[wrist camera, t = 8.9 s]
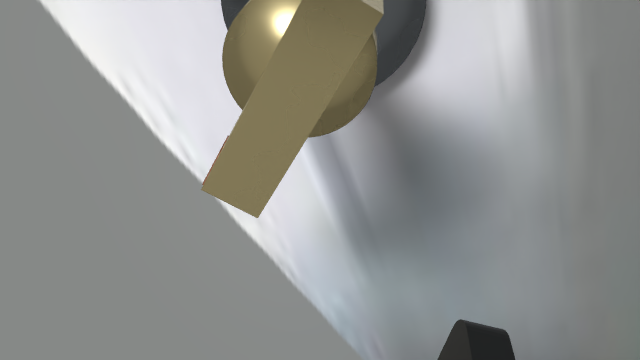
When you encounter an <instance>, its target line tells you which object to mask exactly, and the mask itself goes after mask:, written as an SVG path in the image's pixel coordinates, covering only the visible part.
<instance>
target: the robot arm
mask: <svg viewBox="0 0 640 360" xmlns="http://www.w3.org/2000/svg"><path fill="white" fill-rule="evenodd" d="M438 360H515V357H514V353H513V349H512V345H511V341H510V338H509V335H508V333H507V332H506V331H505V330H503V329H499V328H495V327H491V326H486V325H482V324H478V323H474V322H469V321H465V320H458V321H457V322H456V323H455V325H454V326H453V328H452V330H451V332H450V334H449V337H448V339H447V341H446V343H445V345H444V347H443V349H442V351H441V353H440V355H439V358H438Z"/></svg>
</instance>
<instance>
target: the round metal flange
mask: <svg viewBox="0 0 640 360" xmlns="http://www.w3.org/2000/svg"><path fill="white" fill-rule="evenodd" d="M249 1H250V0H221V6H222V11H223V17H224V21H225V24H226V27H227V30H229V27H230V26H231V24H232V22H233V20H234V19H235V18H236V16H237V15H238V14H239V12H240V11H241V10H242V9H243V8H244V6H245V5H246V4H247V3H248V2H249ZM425 8H426V0H383V9H384V15H383V16H382V18H381V19H380V21H379V23H378V24H377V26H376V27H375V30H376V36H377V74H376V80H375V84H374V87H375V86H376V85H378V84H380V83H381V82H383V81H384V80H385V79H387V78H388V77H389V76H390V75H392V74H393V73H394V72H395V71H396V70H397V69H398V68H399V66H400V65H401V64H402V63H403V62H404V60H405V59H406V58H407V56H408V55H409V54H410V52H411V50H412V48H413V46H414V45H415V43H416V41H417V38H418V36H419V33H420V31H421V28H422V24H423V20H424V16H425Z"/></svg>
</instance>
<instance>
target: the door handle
mask: <svg viewBox="0 0 640 360" xmlns="http://www.w3.org/2000/svg"><path fill="white" fill-rule="evenodd" d="M383 15H384V9H383V0H250V1H249V2H248V3H247V4H246V5H245V6H244V8H243V9H242V10H241V11H240V12H239V14H238V15H237V16H236V18H235V19H234V20H233V22H232V24H231V26H230V27H229V30H228V32H227V35H226V38H225V42H224V46H223V55H222V61H223V71H224V76H225V80H226V83H227V86H228V88H229V90H230V93H231V95H232V96H233V98H234V100H235V101H236V103H237V104H238V105H239V107H240V108H241V109H242V110H243V111H242V113H241V115H240V116H239V118H238V120H237V122H236V124H235V126H234V128H233V130H232V131H231V133H230V135H229V136H228V137H227V138H226V140H225V142H224V144H223V146H222V148H221V150H220V152H219V154H218V155H217V157H216V159H215V161H214V163H213V165H212V167H211V169H210V171H209V173H208V174H207V176H206V178H205V180H204V182H203V184H202V185H203V187H202V189H201V190H203V191H205V192H207V193H209V194H211V195H213V196H215V197H216V198H218V199H220V200H222V201H224V202H226V203H228V204H230V205H232V206H234V207H236V208H238V209H240V210H242V211H244V212H246V213H248V214H250V215H252V216H254V217H256V218H258V217H259V215H260V214H261V212H262V210H263V209H264V207H265V206H266V204H267V202H268V201H269V199H270V197H271V196H272V194H273V193H274V191H275V189H276V188H277V186H278V184H279V183H280V181H281V180H282V178H283V176H284V175H285V173H286V172H287V170H288V168H289V167H290V165H291V163H292V162H293V160H294V159H295V157H296V155H297V154H298V152H299V151H300V149H301V147H302V146H303V144H304V142H305V141H306V139H307V138H308V137H316V136H321V135H325V134H328V133H331V132H333V131H336V130H338V129H340V128H341V127H343V126H345V125H346V124H348V123H349V122H350V121H351V120H353V119H354V118H355V117H356V116H357V115H358V114H359V113H360V112H361V110H362V109H363V108H364V106H365V105H366V103H367V101H368V100H369V98H370V96H371V93H372V91H373V88H374V84H375V80H376V74H377V36H376V30H375V27H376V26H377V24H378V23H379V21H380V19H381V18H382V16H383Z"/></svg>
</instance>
